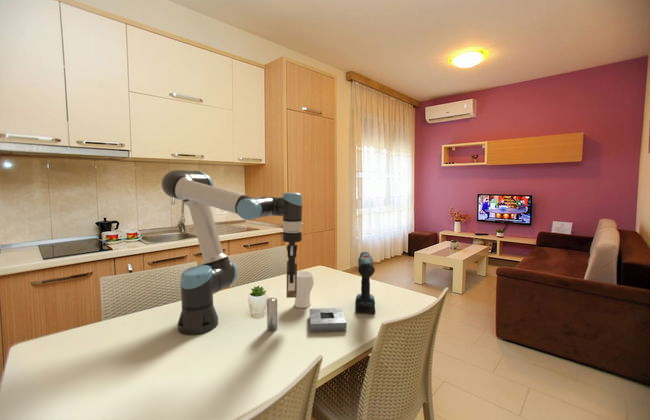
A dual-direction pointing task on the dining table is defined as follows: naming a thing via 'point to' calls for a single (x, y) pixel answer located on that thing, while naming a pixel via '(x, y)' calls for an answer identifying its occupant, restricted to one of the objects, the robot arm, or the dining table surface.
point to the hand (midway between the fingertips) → (291, 288)
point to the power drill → (365, 285)
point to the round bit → (272, 314)
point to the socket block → (327, 320)
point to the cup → (304, 289)
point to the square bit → (294, 293)
